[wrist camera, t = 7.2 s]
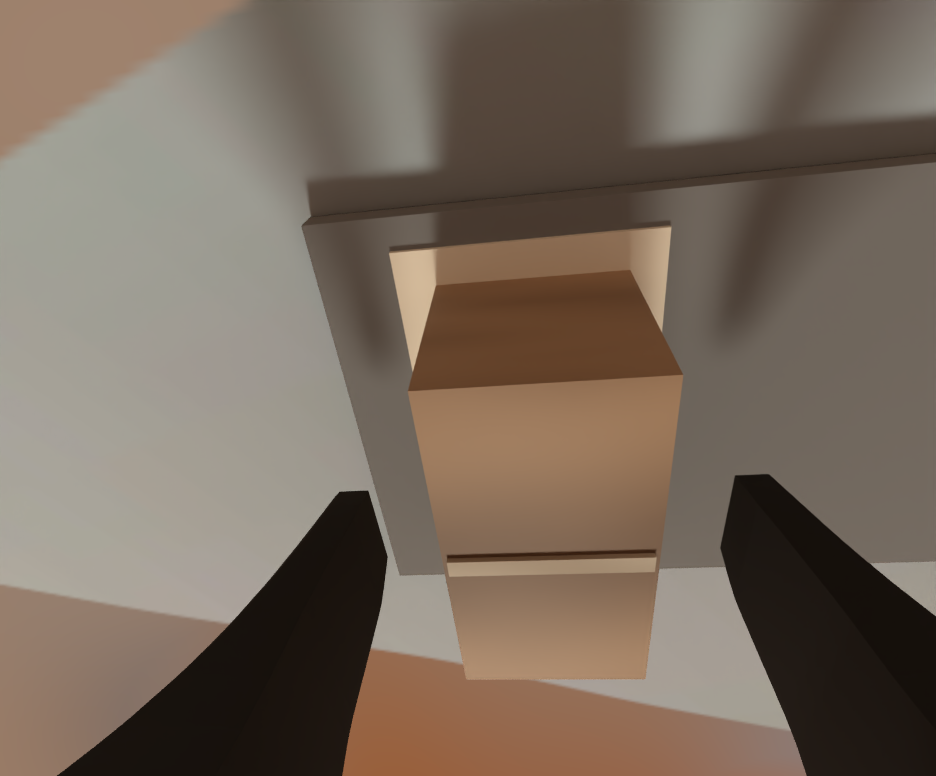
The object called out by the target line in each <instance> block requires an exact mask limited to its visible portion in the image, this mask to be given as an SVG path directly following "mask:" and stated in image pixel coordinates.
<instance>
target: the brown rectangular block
mask: <svg viewBox="0 0 936 776" xmlns="http://www.w3.org/2000/svg"><path fill="white" fill-rule="evenodd" d="M682 382H683V373H682V371H681V369H680V367H679V365H678V363H677V361H676V359H675V357H674V355H673V353H672V351H671V349H670V347H669V345H668V344H667V342H666V340H665V338H664V336H663V334H662V332H661V330H660V328H659V326H658V324H657V322H656V320H655V318H654V316H653V314H652V312H651V310H650V308H649V306H648V304H647V302H646V300H645V298H644V296H643V294H642V292H641V290H640V288H639V286H638V284H637V282H636V280H635V278H634V276H633V274H632V272H631V270H622V271H609V272H597V273H584V274H572V275H560V276H547V277H535V278H522V279H510V280H497V281H485V282H473V283H460V284H448V285H436V287H435V291H434V294H433V298H432V302H431V306H430V309H429V313H428V317H427V321H426V324H425V328H424V332H423V336H422V339H421V343H420V347H419V351H418V355H417V358H416V362H415V366H414V370H413V373H412V377H411V381H410V385H409V388H408V395H409V400H410V405H411V410H412V415H413V420H414V425H415V430H416V434H417V439H418V444H419V449H420V454H421V459H422V464H423V469H424V474H425V479H426V484H427V488H428V493H429V498H430V503H431V508H432V513H433V518H434V523H435V528H436V533H437V538H438V542H439V547H440V552H441V557H442V562H443V567H444V572H445V577H446V582H447V587H448V591H449V596H450V601H451V606H452V611H453V616H454V621H455V626H456V631H457V636H458V641H459V645H460V650H461V655H462V660H463V665H464V670H465V675H466V679H645V677H646V669H647V661H648V653H649V645H650V637H651V629H652V621H653V613H654V605H655V597H656V589H657V581H658V573H659V565H660V557H661V549H662V541H663V533H664V525H665V517H666V509H667V501H668V494H669V486H670V478H671V470H672V462H673V454H674V446H675V438H676V430H677V422H678V414H679V406H680V398H681V390H682Z"/></svg>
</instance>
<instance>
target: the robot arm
mask: <svg viewBox="0 0 936 776" xmlns="http://www.w3.org/2000/svg"><path fill="white" fill-rule="evenodd" d="M720 549H721V553H722V556H723V560H724V563H725V567H726V570H727V574H728V577H729V581H730V584H731V587H732V591H733V594H734V597H735V600H736V602H737V605H738V607H739V610H740V612H741V614H742V617H743V619H744V621H745V624H746V626H747V628H748V631H749V633H750V636H751V638H752V640H753V643H754V645H755V647H756V649H757V652H758V654H759V656H760V659H761V661H762V663H763V666H764V668H765V670H766V673H767V675H768V677H769V680H770V682H771V684H772V686H773V689H774V691H775V693H776V696H777V698H778V700H779V703H780V705H781V707H782V710H783V712H784V714H785V716H786V719H787V721H788V724H789V727H790V729H791V732H792V734H793V737H794V740H795V742H796V745H797V747H798V750H799V753H800V757H801V760H802V762H803V766H804V768H805V772H806V775H807V776H936V616H935V615H933V614H932V613H931V612H929V611H928V610H927V609H926V608H924V607H923V606H922V605H920V604H919V603H918V602H917V601H915V600H914V599H913V598H912V597H910V596H909V595H908V594H906V593H905V592H904V591H903V590H901V589H900V588H899V587H897V586H896V585H895V584H894V583H892V582H891V581H890V580H889V579H888V578H886V577H885V576H884V575H883V574H881V573H880V572H879V571H878V570H877V569H875V568H874V567H873V566H872V565H871V564H870V563H868V562H867V561H866V560H865V559H864V558H862V557H861V556H860V555H859V554H858V553H857V552H855V551H854V550H853V549H852V548H851V547H850V546H848V545H847V544H846V543H845V542H844V541H843V540H842V539H840V538H839V537H838V536H837V535H836V534H835V533H834V532H832V531H831V530H830V529H829V528H828V527H827V526H826V525H825V524H824V523H822V522H821V521H820V520H819V519H818V518H817V517H816V516H815V515H814V514H812V513H811V512H810V511H809V510H808V509H807V508H806V507H805V506H804V505H803V504H801V503H800V502H799V501H798V500H797V499H796V498H795V497H794V496H793V495H792V494H790V493H789V492H788V491H787V490H786V489H785V488H784V487H783V486H782V485H781V484H779V483H778V482H777V481H776V480H775V479H774V478H773V477H772V476H771V475H769V474H755V475H735V478H734V482H733V487H732V492H731V497H730V502H729V507H728V512H727V517H726V522H725V527H724V531H723V536H722V541H721V546H720ZM387 558H388V557H387V553H386V550H385V546H384V543H383V540H382V536H381V533H380V529H379V526H378V522H377V519H376V516H375V512H374V509H373V505H372V502H371V498H370V495H369V492H368V491H346V492H339V493H338V494H337V495H336V496H335V498H334V499H333V500H332V502H331V503H330V504H329V505H328V507H327V508H326V509H325V511H324V512H323V513H322V515H321V516H320V517H319V518H318V520H317V521H316V522H315V524H314V525H313V526H312V528H311V529H310V530H309V531H308V533H307V534H306V535H305V537H304V538H303V539H302V540H301V542H300V543H299V544H298V545H297V547H296V548H295V549H294V550H293V552H292V553H291V554H290V555H289V557H288V558H287V559H286V560H285V561H284V563H283V564H282V565H281V566H280V568H279V569H278V570H277V571H276V573H275V574H274V575H273V576H272V577H271V579H270V580H269V581H268V582H267V583H266V584H265V586H264V587H263V588H262V589H261V590H260V591H259V592H258V593H257V595H256V596H255V597H254V598H253V599H252V600H251V601H250V602H249V604H248V605H247V606H246V607H245V608H244V609H243V610H242V611H241V613H240V614H239V615H238V616H237V617H236V618H235V619H234V620H233V621H232V622H231V623H230V625H229V626H228V627H227V628H226V629H225V630H224V631H223V632H222V633H221V634H220V635H219V636H218V637H217V638H216V639H215V640H214V641H213V642H212V643H211V644H210V645H209V646H208V647H207V648H206V649H205V650H204V651H203V652H202V653H201V654H200V655H199V656H198V657H197V658H196V659H195V660H194V661H193V662H192V663H191V664H190V665H189V666H188V667H187V668H186V669H185V670H184V671H182V672H181V673H180V674H179V675H178V676H177V677H176V678H175V679H174V680H173V681H171V682H170V683H169V684H168V685H167V686H166V687H165V688H164V689H162V690H161V691H160V692H159V693H158V694H157V695H156V696H154V697H153V698H152V699H151V700H150V701H149V702H148V703H146V705H144V706H143V707H142V708H141V709H140V710H139V711H137V712H136V713H135V714H134V715H133V716H132V717H131V718H129V719H128V720H127V721H126V722H125V723H123V725H121V726H120V727H118V728H117V729H116V730H115V731H114V732H112V733H111V734H110V735H109V736H107V737H106V738H105V739H104V740H102V741H101V742H100V743H99V744H97V745H96V746H95V747H94V748H92V749H91V750H90V751H89V752H87V753H86V754H85V755H83V756H82V757H81V758H80V759H78V760H77V761H76V762H74V763H73V764H72V765H71V766H69V767H68V768H67V769H65V770H64V771H63V772H61V773H60V774H59V775H57V776H342V773H343V767H344V761H345V755H346V748H347V743H348V737H349V733H350V728H351V724H352V719H353V715H354V711H355V707H356V703H357V699H358V695H359V691H360V687H361V683H362V679H363V676H364V672H365V668H366V663H367V660H368V656H369V652H370V648H371V644H372V641H373V637H374V633H375V629H376V625H377V621H378V616H379V612H380V608H381V604H382V597H383V590H384V582H385V574H386V566H387Z"/></svg>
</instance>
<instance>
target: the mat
mask: <svg viewBox="0 0 936 776" xmlns="http://www.w3.org/2000/svg"><path fill="white" fill-rule="evenodd" d="M302 230H303V233H304V237H305V240H306V244H307V248H308V251H309V255H310V258H311V262H312V265H313V269H314V272H315V276H316V279H317V283H318V287H319V290H320V294H321V297H322V301H323V304H324V308H325V311H326V315H327V319H328V322H329V326H330V329H331V333H332V336H333V340H334V343H335V347H336V350H337V354H338V358H339V361H340V365H341V368H342V372H343V375H344V379H345V382H346V386H347V390H348V393H349V397H350V400H351V404H352V407H353V411H354V414H355V418H356V421H357V425H358V429H359V432H360V436H361V439H362V443H363V446H364V450H365V453H366V457H367V461H368V464H369V468H370V471H371V475H372V478H373V482H374V485H375V489H376V493H377V496H378V500H379V503H380V507H381V510H382V514H383V517H384V521H385V524H386V528H387V532H388V535H389V539H390V542H391V546H392V549H393V553H394V556H395V560H396V564H397V567H398V571H399V574H400V575H436V574H445V572H444V567H443V562H442V557H441V552H440V547H439V542H438V538H437V533H436V528H435V523H434V518H433V513H432V508H431V503H430V498H429V493H428V488H427V484H426V479H425V474H424V469H423V464H422V459H421V454H420V449H419V444H418V439H417V434H416V430H415V425H414V420H413V415H412V410H411V405H410V400H409V395H408V388H409V385H410V381H411V377H412V373H413V370H414V366H415V362H416V358H417V355H418V351H419V347H420V343H421V339H422V336H423V332H424V328H425V324H426V321H427V317H428V313H429V309H430V306H431V302H432V298H433V294H434V291H435V287H436V285H448V284H460V283H473V282H485V281H497V280H510V279H522V278H535V277H547V276H560V275H572V274H584V273H597V272H609V271H622V270H631V272H632V274H633V276H634V278H635V280H636V282H637V284H638V286H639V288H640V290H641V292H642V294H643V296H644V298H645V300H646V302H647V304H648V306H649V308H650V310H651V312H652V314H653V316H654V318H655V320H656V322H657V324H658V326H659V328H660V330H661V332H662V334H663V336H664V338H665V340H666V342H667V344H668V345H669V347H670V349H671V351H672V353H673V355H674V357H675V359H676V361H677V363H678V365H679V367H680V369H681V371H682V373H683V382H682V390H681V398H680V406H679V414H678V422H677V430H676V438H675V446H674V454H673V462H672V470H671V478H670V486H669V494H668V501H667V509H666V517H665V525H664V533H663V541H662V549H661V557H660V565H659V569H663V568H701V567H725V563H724V560H723V556H722V553H721V549H720V546H721V541H722V536H723V531H724V527H725V522H726V517H727V512H728V507H729V502H730V497H731V492H732V487H733V482H734V478H735V475H755V474H769V475H771V476H772V477H773V478H774V479H775V480H776V481H777V482H778V483H779V484H781V485H782V486H783V487H784V488H785V489H786V490H787V491H788V492H789V493H790V494H792V495H793V496H794V497H795V498H796V499H797V500H798V501H799V502H800V503H801V504H803V505H804V506H805V507H806V508H807V509H808V510H809V511H810V512H811V513H812V514H814V515H815V516H816V517H817V518H818V519H819V520H820V521H821V522H822V523H824V524H825V525H826V526H827V527H828V528H829V529H830V530H831V531H832V532H834V533H835V534H836V535H837V536H838V537H839V538H840V539H842V540H843V541H844V542H845V543H846V544H847V545H848V546H850V547H851V548H852V549H853V550H854V551H855V552H857V553H858V554H859V555H860V556H861V557H862V558H864V559H865V560H866V561H867V562H868V563H891V562H929V561H936V153H935V154H926V155H916V156H906V157H896V158H886V159H876V160H867V161H857V162H847V163H837V164H827V165H818V166H808V167H798V168H788V169H778V170H768V171H759V172H749V173H739V174H729V175H719V176H710V177H700V178H690V179H680V180H670V181H660V182H651V183H641V184H631V185H621V186H611V187H602V188H592V189H582V190H572V191H562V192H552V193H543V194H533V195H523V196H513V197H503V198H494V199H484V200H474V201H464V202H454V203H444V204H435V205H425V206H415V207H405V208H395V209H386V210H376V211H366V212H356V213H346V214H337V215H327V216H317V217H310V218H309V219H308V220H307V221H306V222H305V223H304V224H303V225H302Z"/></svg>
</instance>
